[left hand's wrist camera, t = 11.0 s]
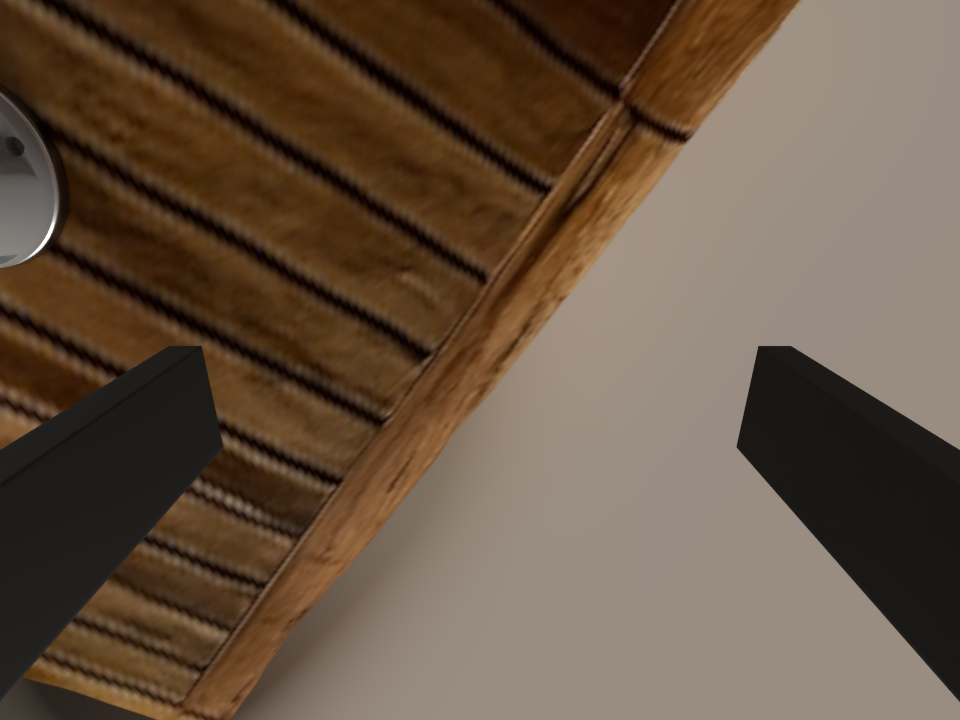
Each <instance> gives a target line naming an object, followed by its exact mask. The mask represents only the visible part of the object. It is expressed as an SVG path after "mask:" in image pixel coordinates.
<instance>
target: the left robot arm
mask: <svg viewBox="0 0 960 720" xmlns="http://www.w3.org/2000/svg"><path fill="white" fill-rule="evenodd" d="M67 209H68V189H67V182H66V177H65V173H64V169H63V166H62V163H61V160H60V158H59V155H58V153H57V151H56V149H55V147H54V144H53V143H52V141H51V139H50V137H49V136H48V134H47V132H46V131H45V129H44V128H43V127H42V125H41V124H40V122H39V121H38V120H37V119H36V117H35V116H34V115H33V114H32V112H31V111H30V110H29V109H28V108H27V107H26V106H25V105H24V104H23V103H22V102H21V101H20V100H19V99H18V98H17V97H16V96H15V95H13V94H12V93H11V92H10V91H8V90H7V89H6V88H5V87H3V86H2V85H0V269H1V268H6V267H10V266H14V265H18V264H22V263H26V262H28V261H31V260H33V259H35V258H37V257H39V256H40V255H42V254H43V253H45V252H46V251H47V250H48V249H49V248H50V247H51V246H52V245H53V244H54V242H55V241H56V240H57V238H58V237H59V235H60V233H61V231H62V229H63V226H64V223H65V220H66V215H67ZM222 448H223V443H222V438H221V433H220V429H219V424H218V420H217V415H216V410H215V406H214V401H213V397H212V392H211V387H210V383H209V378H208V374H207V369H206V364H205V360H204V355H203V351H202V346H168V347H167V348H165V349H164V350H162V351H160V352H159V353H157V354H155V355H154V356H152V357H151V358H149V359H147V360H146V361H144V362H142V363H141V364H139V365H138V366H136V367H134V368H133V369H131V370H129V371H128V372H126V373H125V374H123V375H121V376H120V377H118V378H116V379H115V380H113V381H112V382H110V383H108V384H107V385H105V386H103V387H102V388H100V389H99V390H97V391H95V392H94V393H92V394H90V395H89V396H87V397H86V398H84V399H82V400H81V401H79V402H77V403H76V404H74V405H73V406H71V407H69V408H68V409H66V410H64V411H63V412H61V413H60V414H58V415H56V416H55V417H53V418H51V419H50V420H48V421H47V422H45V423H43V424H42V425H40V426H38V427H37V428H35V429H34V430H32V431H30V432H29V433H27V434H25V435H24V436H22V437H21V438H19V439H17V440H16V441H14V442H13V443H11V444H9V445H8V446H6V447H4V448H3V449H1V450H0V702H1V700H2V699H3V698H4V697H5V696H6V695H7V694H8V692H9V691H10V690H11V689H12V688H13V687H14V686H15V684H16V683H17V682H18V681H19V680H20V679H21V678H22V676H23V675H24V674H25V673H26V672H27V671H28V670H29V668H30V667H31V666H32V665H33V664H34V663H35V662H36V660H37V659H38V658H39V657H40V656H41V655H42V654H43V652H44V651H45V650H46V649H47V648H48V647H49V646H50V644H51V643H52V642H53V641H54V640H55V639H56V638H57V637H58V635H59V634H60V633H61V632H62V631H63V630H64V629H65V627H66V626H67V625H68V624H69V623H70V622H71V621H72V619H73V618H74V617H75V616H76V615H77V614H78V613H79V611H80V610H81V609H82V608H83V607H84V606H85V605H86V603H87V602H88V601H89V600H90V599H91V598H92V597H93V595H94V594H95V593H96V592H97V591H98V590H99V589H100V587H101V586H102V585H103V584H104V583H105V582H106V581H107V579H108V578H109V577H110V576H111V575H112V574H113V573H114V571H115V570H116V569H117V568H118V567H119V566H120V565H121V564H122V562H123V561H124V560H125V559H126V558H127V557H128V556H129V554H130V553H131V552H132V551H133V550H134V549H135V548H136V546H137V545H138V544H139V543H140V542H141V541H142V540H143V538H144V537H145V536H146V535H147V534H148V533H149V532H150V530H151V529H152V528H153V527H154V526H155V525H156V524H157V522H158V521H159V520H160V519H161V518H162V517H163V516H164V514H165V513H166V512H167V511H168V510H169V509H170V508H171V506H172V505H173V504H174V503H175V502H176V501H177V500H178V498H179V497H180V496H181V495H182V494H183V493H184V492H185V491H186V489H187V488H188V487H189V486H190V485H191V484H192V483H193V481H194V480H195V479H196V478H197V477H198V476H199V475H200V473H201V472H202V471H203V470H204V469H205V468H206V467H207V465H208V464H209V463H210V462H211V461H212V460H213V459H214V457H215V456H216V455H217V454H218V453H219V452H220V451H221V449H222ZM737 448H738V449H739V451H740V452H741V453H742V454H743V455H744V456H745V457H746V458H747V460H748V461H749V462H750V463H751V464H752V465H753V467H754V468H755V469H756V470H757V471H758V472H759V473H760V474H761V476H762V477H763V478H764V479H765V480H766V481H767V483H768V484H769V485H770V486H771V487H772V488H773V489H774V490H775V492H776V493H777V494H778V495H779V496H780V497H781V498H782V500H783V501H784V502H785V503H786V504H787V505H788V506H789V508H790V509H791V510H792V511H793V512H794V513H795V514H796V516H797V517H798V518H799V519H800V520H801V521H802V522H803V524H804V525H805V526H806V527H807V528H808V529H809V530H810V532H811V533H812V534H813V535H814V536H815V537H816V538H817V540H818V541H819V542H820V543H821V544H822V545H823V546H824V548H825V549H826V550H827V551H828V552H829V553H830V554H831V556H832V557H833V558H834V559H835V560H836V561H837V562H838V564H839V565H840V566H841V567H842V568H843V569H844V570H845V571H846V573H847V574H848V575H849V576H850V577H851V578H852V579H853V581H854V582H855V583H856V584H857V585H858V586H859V587H860V589H861V590H862V591H863V592H864V593H865V594H866V595H867V597H868V598H869V599H870V600H871V601H872V602H873V603H874V605H875V606H876V607H877V608H878V609H879V610H880V611H881V613H882V614H883V615H884V616H885V617H886V618H887V619H888V620H889V622H890V623H891V624H892V625H893V626H894V627H895V628H896V630H897V631H898V632H899V633H900V634H901V635H902V637H903V638H904V639H905V640H906V641H907V642H908V643H909V644H910V646H911V647H912V648H913V649H914V650H915V651H916V652H917V654H918V655H919V656H920V657H921V658H922V659H923V660H924V662H925V663H926V664H927V665H928V666H929V667H930V668H931V670H932V671H933V672H934V673H935V674H936V675H937V676H938V678H939V679H940V680H941V681H942V682H943V683H944V684H945V686H946V687H947V688H948V689H949V690H950V691H951V692H952V694H953V695H954V696H955V697H956V698H957V699H958V700H959V701H960V450H959V449H957V448H956V447H954V446H952V445H951V444H949V443H947V442H946V441H944V440H943V439H941V438H939V437H938V436H936V435H935V434H933V433H931V432H930V431H928V430H926V429H925V428H923V427H921V426H920V425H918V424H917V423H915V422H913V421H912V420H910V419H909V418H907V417H905V416H904V415H902V414H900V413H899V412H897V411H896V410H894V409H892V408H891V407H889V406H887V405H886V404H884V403H883V402H881V401H879V400H878V399H876V398H874V397H873V396H871V395H870V394H868V393H866V392H865V391H863V390H861V389H860V388H858V387H857V386H855V385H853V384H852V383H850V382H848V381H847V380H845V379H844V378H842V377H840V376H839V375H837V374H835V373H834V372H832V371H831V370H829V369H827V368H826V367H824V366H822V365H821V364H819V363H818V362H816V361H814V360H813V359H811V358H809V357H808V356H806V355H805V354H803V353H801V352H800V351H798V350H796V349H795V348H793V347H792V346H759V347H758V351H757V355H756V360H755V365H754V369H753V374H752V378H751V383H750V387H749V392H748V397H747V401H746V406H745V410H744V415H743V420H742V424H741V429H740V433H739V438H738V443H737Z"/></svg>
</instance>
